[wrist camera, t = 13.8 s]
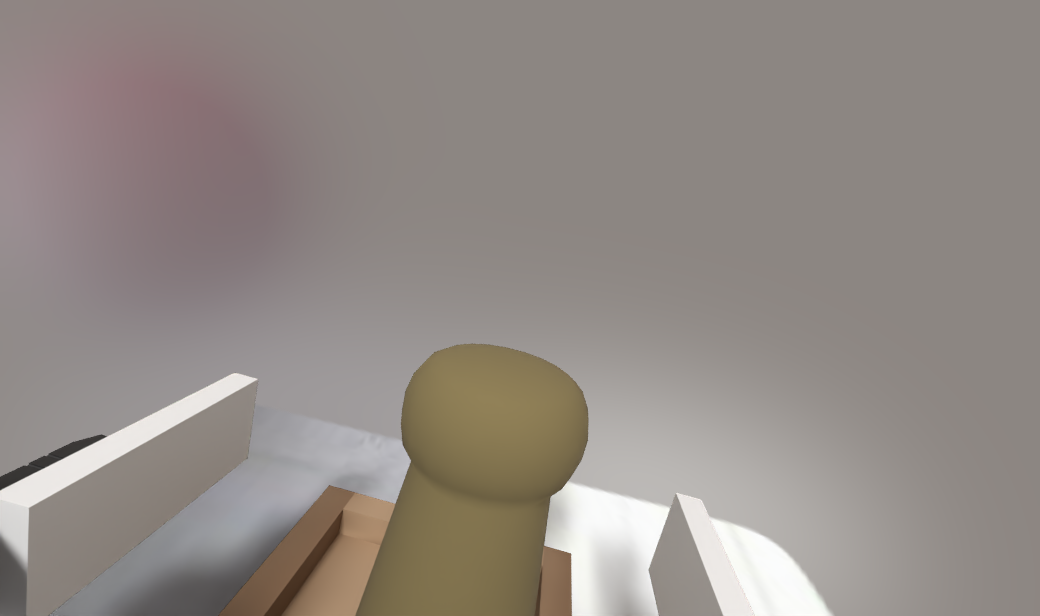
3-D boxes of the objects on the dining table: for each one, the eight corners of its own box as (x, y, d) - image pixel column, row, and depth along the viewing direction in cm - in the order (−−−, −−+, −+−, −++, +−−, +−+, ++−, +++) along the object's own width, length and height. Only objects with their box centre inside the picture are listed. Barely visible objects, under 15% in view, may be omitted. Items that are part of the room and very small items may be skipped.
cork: (286, 723, 14) (349, 353, 11) (397, 576, 19) (453, 311, 17) (489, 834, 12) (607, 442, 10) (542, 641, 18) (625, 364, 16)
